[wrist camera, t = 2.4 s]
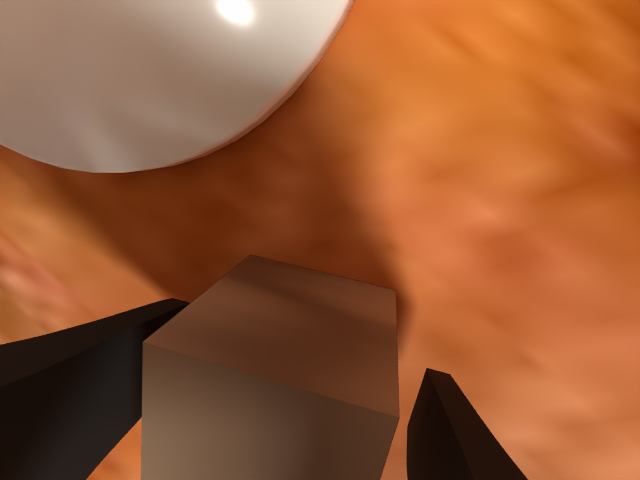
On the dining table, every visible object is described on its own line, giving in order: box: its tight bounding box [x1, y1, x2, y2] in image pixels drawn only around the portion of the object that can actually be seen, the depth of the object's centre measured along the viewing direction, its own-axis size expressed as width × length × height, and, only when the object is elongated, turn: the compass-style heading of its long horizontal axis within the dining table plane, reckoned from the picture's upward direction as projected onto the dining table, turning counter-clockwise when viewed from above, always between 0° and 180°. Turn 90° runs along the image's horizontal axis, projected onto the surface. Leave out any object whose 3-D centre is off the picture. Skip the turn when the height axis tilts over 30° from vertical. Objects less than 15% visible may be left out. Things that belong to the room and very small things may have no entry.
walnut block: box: [141, 255, 400, 480], centre depth 9 cm, size 5×5×5 cm
